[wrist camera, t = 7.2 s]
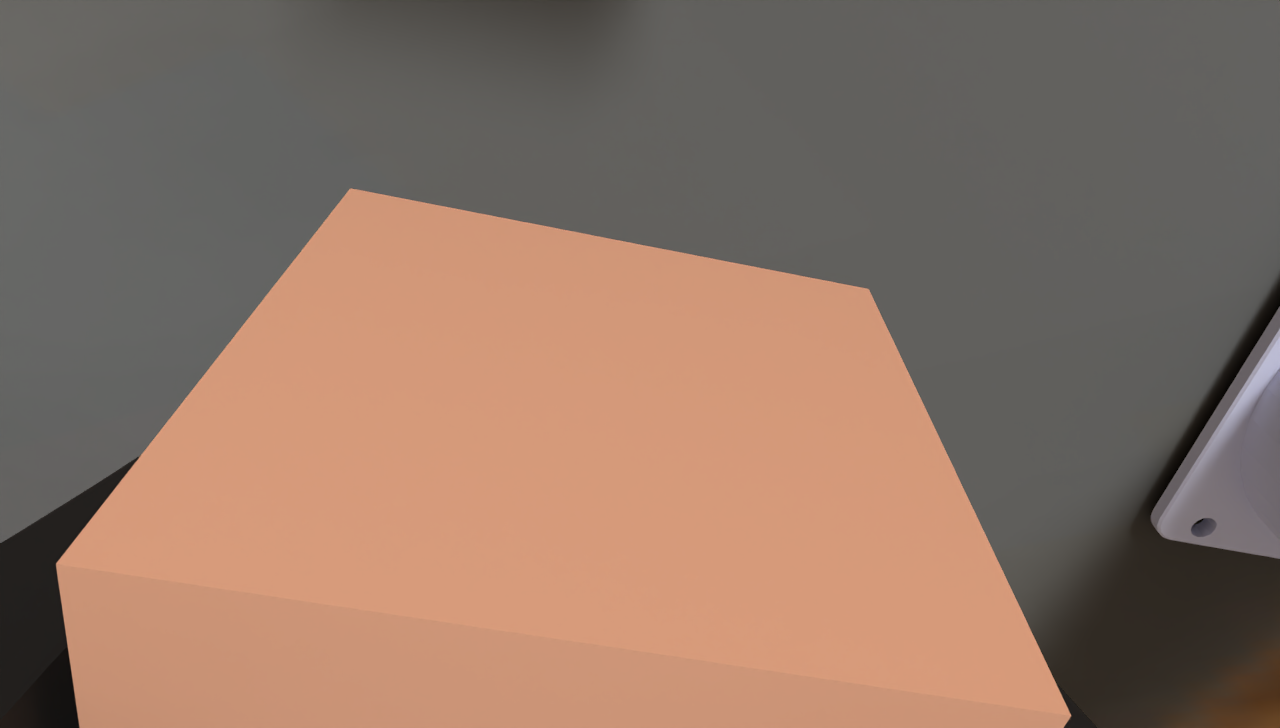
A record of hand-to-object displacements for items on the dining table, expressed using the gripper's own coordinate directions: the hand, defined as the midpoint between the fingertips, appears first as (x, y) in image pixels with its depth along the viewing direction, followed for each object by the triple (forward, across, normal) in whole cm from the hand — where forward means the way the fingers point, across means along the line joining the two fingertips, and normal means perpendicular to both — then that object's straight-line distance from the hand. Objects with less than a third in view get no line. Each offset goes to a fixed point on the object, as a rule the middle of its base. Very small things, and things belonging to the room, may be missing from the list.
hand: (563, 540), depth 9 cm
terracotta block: (+2, 0, 0) cm, 2 cm away
